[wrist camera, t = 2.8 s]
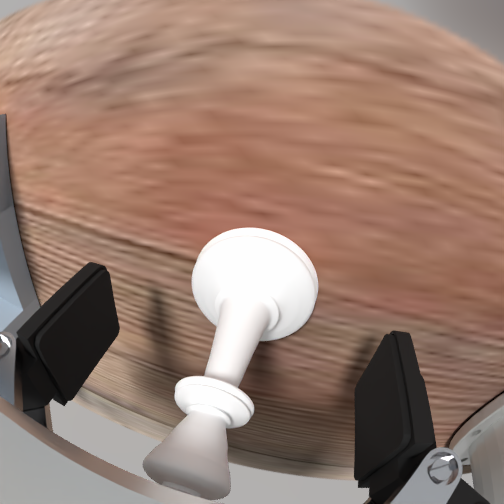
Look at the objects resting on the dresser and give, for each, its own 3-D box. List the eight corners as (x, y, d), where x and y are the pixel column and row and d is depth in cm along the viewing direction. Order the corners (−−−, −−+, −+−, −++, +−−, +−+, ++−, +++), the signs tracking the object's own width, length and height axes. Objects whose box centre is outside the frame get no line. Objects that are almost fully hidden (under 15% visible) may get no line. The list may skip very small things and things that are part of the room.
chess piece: (207, 327, 14) (114, 532, 5) (184, 228, 11) (-1, 463, 3) (317, 333, 13) (284, 578, 4) (317, 225, 10) (276, 587, 2)
